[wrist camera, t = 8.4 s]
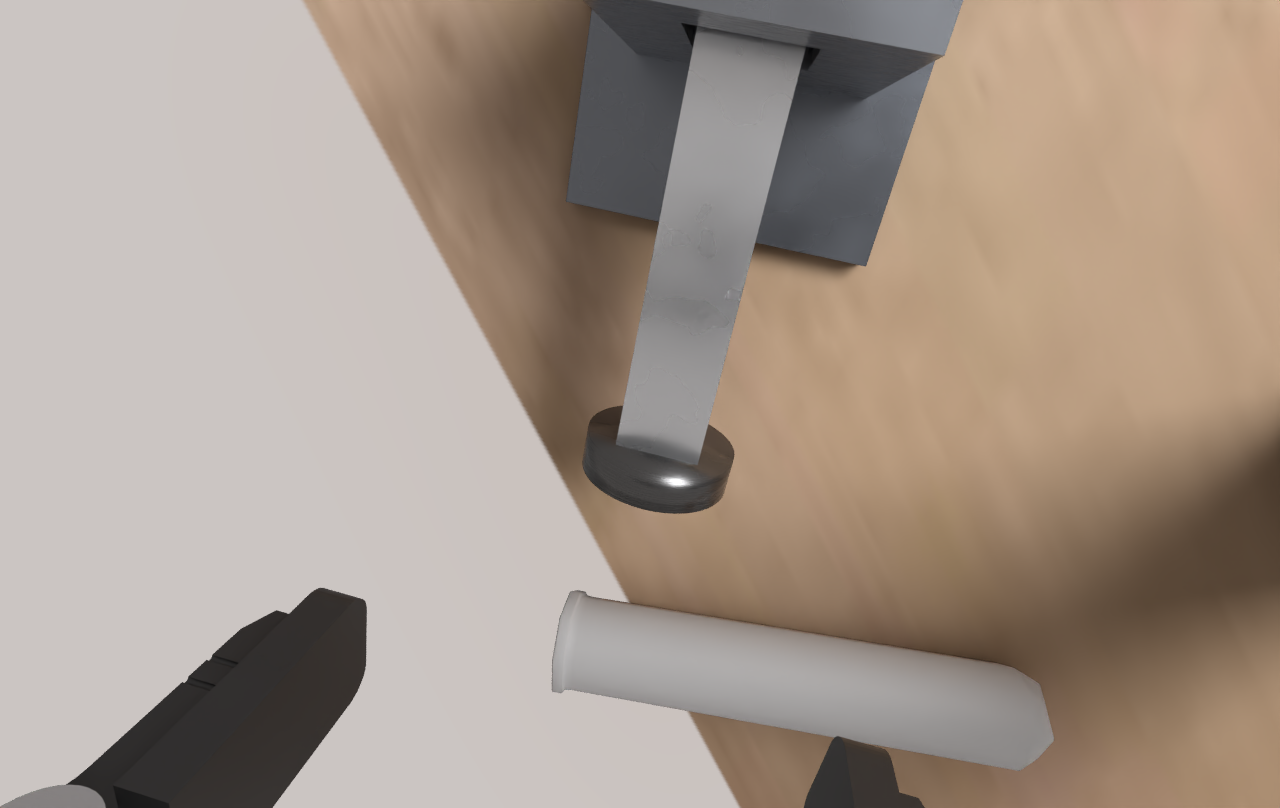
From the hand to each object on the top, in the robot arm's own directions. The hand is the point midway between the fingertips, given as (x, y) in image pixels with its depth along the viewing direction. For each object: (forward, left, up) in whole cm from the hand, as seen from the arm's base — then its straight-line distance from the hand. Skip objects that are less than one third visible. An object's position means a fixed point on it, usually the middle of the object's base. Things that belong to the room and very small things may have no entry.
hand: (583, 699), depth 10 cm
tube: (-9, +15, -21) cm, 28 cm away
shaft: (0, -6, -16) cm, 17 cm away
